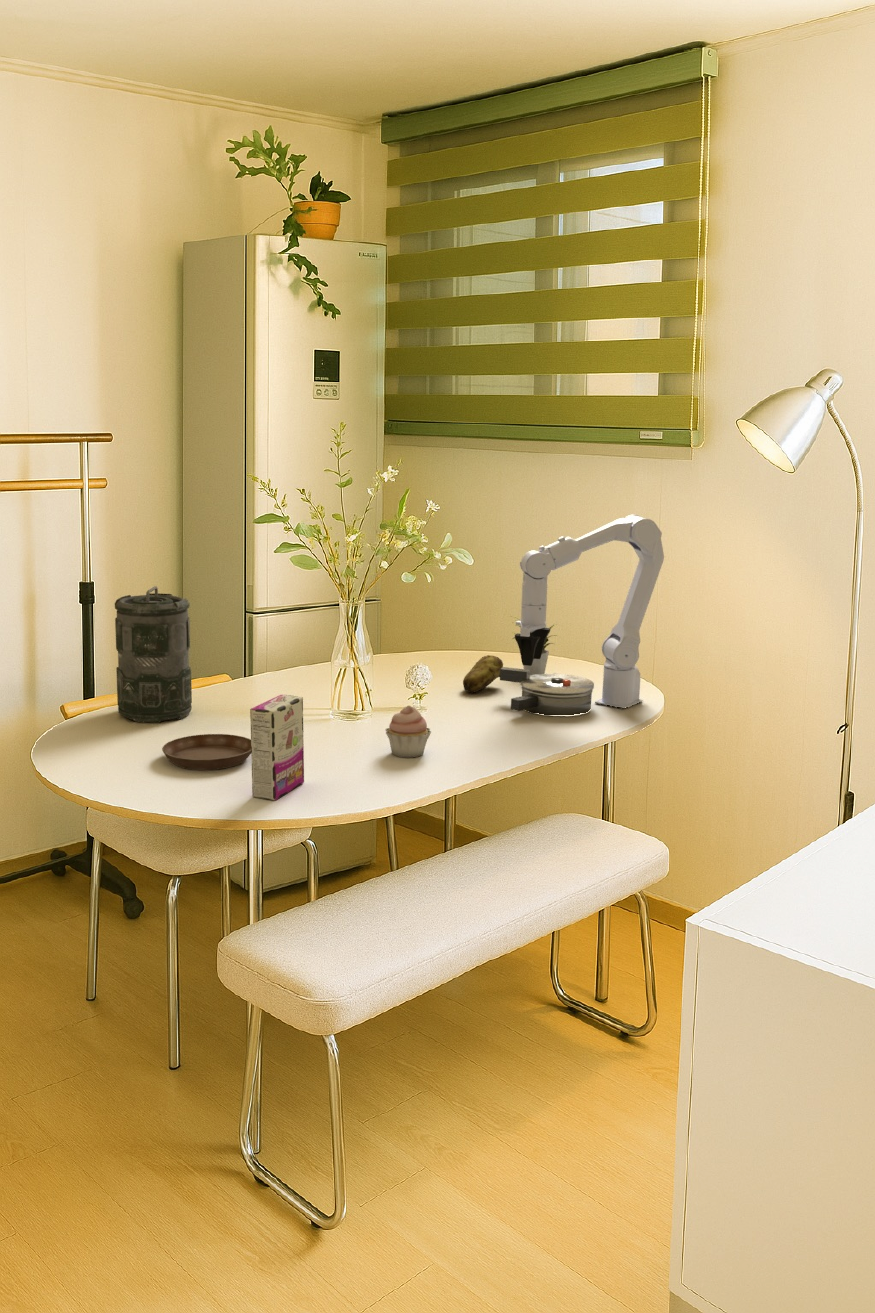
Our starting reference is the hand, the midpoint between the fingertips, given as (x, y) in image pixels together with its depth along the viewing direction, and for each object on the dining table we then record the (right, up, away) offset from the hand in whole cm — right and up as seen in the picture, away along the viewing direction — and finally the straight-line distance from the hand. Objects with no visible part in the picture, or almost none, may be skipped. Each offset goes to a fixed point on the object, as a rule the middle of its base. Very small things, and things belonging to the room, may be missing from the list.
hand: (531, 661), depth 276 cm
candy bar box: (-50, -23, -61) cm, 83 cm away
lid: (+3, -5, 0) cm, 6 cm away
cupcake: (-28, -18, -37) cm, 50 cm away
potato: (-11, -7, +16) cm, 21 cm away
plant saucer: (-66, -19, -44) cm, 82 cm away
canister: (-84, -12, -13) cm, 86 cm away
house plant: (+3, -3, +34) cm, 35 cm away
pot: (+4, -11, -2) cm, 12 cm away
